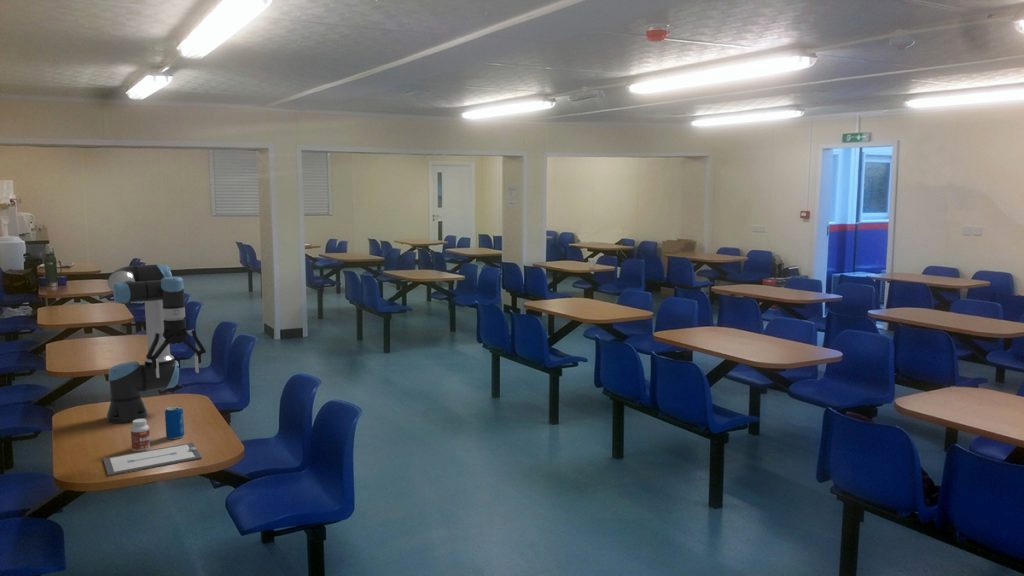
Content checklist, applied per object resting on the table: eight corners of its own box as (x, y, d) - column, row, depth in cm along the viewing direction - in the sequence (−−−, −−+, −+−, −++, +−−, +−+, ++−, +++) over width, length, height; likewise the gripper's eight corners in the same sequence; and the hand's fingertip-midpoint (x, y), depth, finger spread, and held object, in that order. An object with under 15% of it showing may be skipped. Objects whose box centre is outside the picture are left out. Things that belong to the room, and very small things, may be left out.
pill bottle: (141, 452, 273) (139, 423, 271) (128, 450, 274) (126, 422, 273) (154, 447, 278) (152, 418, 277) (141, 445, 280) (139, 417, 279)
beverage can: (177, 440, 286) (175, 410, 284) (162, 439, 287) (160, 409, 285) (188, 435, 292) (186, 405, 290) (173, 433, 293) (171, 404, 291)
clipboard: (103, 459, 265) (102, 456, 265) (192, 444, 282) (192, 440, 281) (108, 476, 250) (107, 472, 250) (201, 458, 267) (201, 455, 267)
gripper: (138, 323, 263) (142, 381, 266) (212, 317, 276) (214, 372, 279) (135, 320, 269) (139, 376, 272) (207, 314, 283) (210, 367, 286)
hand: (177, 374), depth 276 cm, fingers open, 13 cm apart
